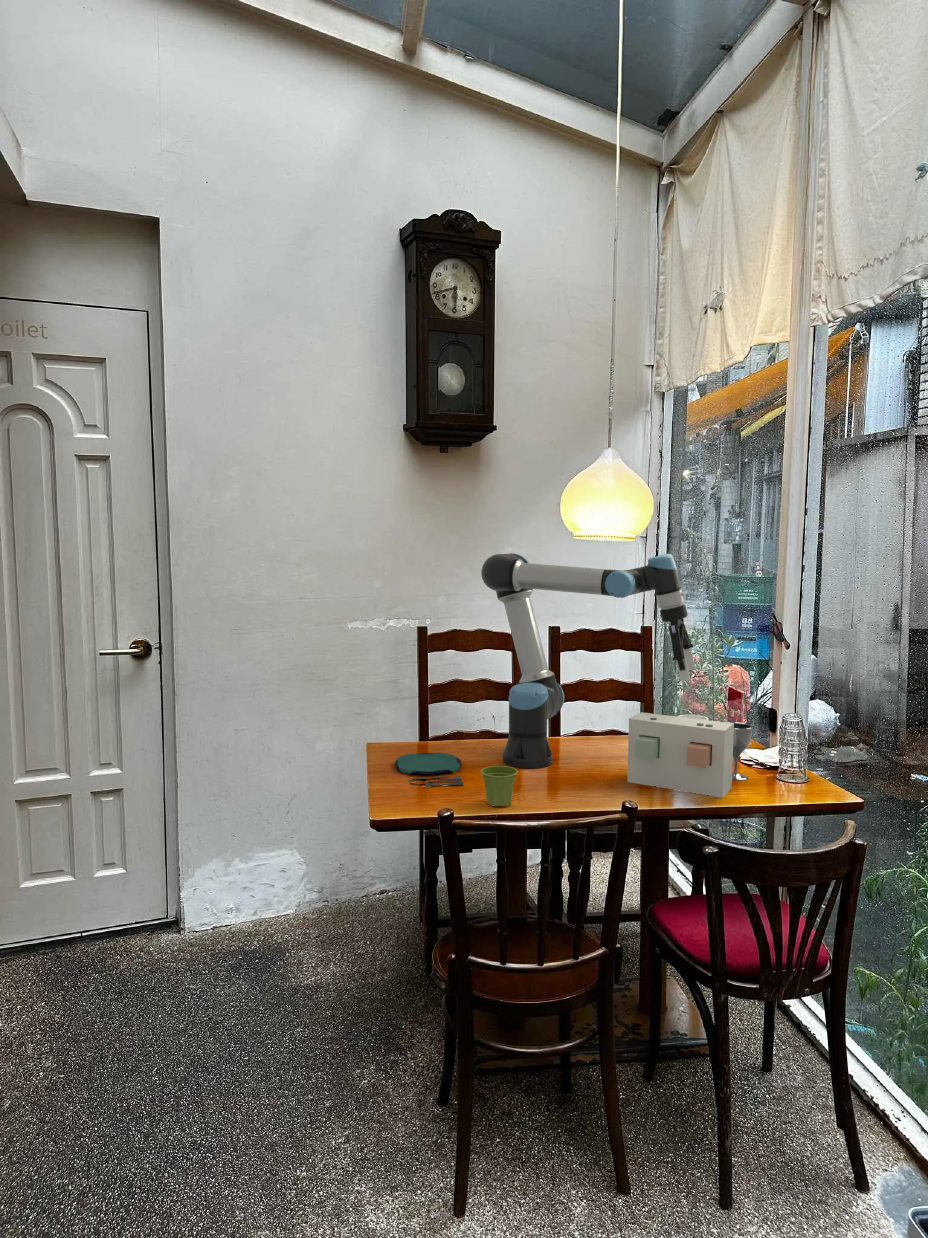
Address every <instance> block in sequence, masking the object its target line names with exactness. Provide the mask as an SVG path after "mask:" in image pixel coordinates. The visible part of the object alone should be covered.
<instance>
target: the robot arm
mask: <svg viewBox="0 0 928 1238" xmlns="http://www.w3.org/2000/svg"><path fill="white" fill-rule="evenodd" d="M480 574H481V575H480V576H481V579H482V581H483V583H484V584H485V586H486V587H487V588H489V589H490V590H492V591H495V593H496V597H497V600H498V601H500V602H501V603H502V604H503V605H504V608H505V612H506V616H507V617H506V618H507V620H508V625H509V628H510V633H511V637H512V640H513V645H514V649H515V652H516V656H517V657H516V658H517V660H518V664H519V668H520V669H519V670H520V672H521V678H520V679H519V681H518V684H514V685H513V686H512V687H511V688H510V689H509V695H508V737H507V740H506V744H505V747H504V749H503V752H502V762H503V763H504V764H505V765H506V766H508V767H512V768H519V769H520V768H521V769H538V768H539V769H540V768H546V767H549V766H550V765H552V764H553V759H554V757H553V752H552V749H551V746H550V743H549V740H548V720H549V719H551V718H553V717H555V716H556V715H557V714H559V712H560V711H561V709H562V708H563V706H564V703H565V693H564V691H563V688H562V687H561V685H560V684H559V683H558V682H557V679H556V676H555V673H554V672H553V671H551V670H550V669H549V667H548V663H547V660H546V659H547V658H546V655H545V651H544V647H543V643H542V640H541V636H540V633H539V627H538V623H537V620H536V616H535V613H534V608H533V604H532V600H531V596H532V594H533V592H534V590H539V591H541V590H542V591H552V592H553V591H554V592H564V593H565V592H567V593H575V594H589V595H596V596H597V595H598V596H599V595H600V596H607V597H613V598H617V599H623V598H626V597H629V596H633V595H636V594H641V593H645V592H650V591H653V590H654V592H655V598H656V602H657V606H658V608H659V609H660V610H659V613H660V618H661V621H662V622H664V623H668V622H669V623H670V626H668V629H669V630H668V631H669V634H670V636H669V637H670V642H671V647H672V648H671V649H672V654H673V657H672V661H673V662H674V661H675V662H676V666H677V671H678V675H679V679H680V682H681V683H682V682H686V681H691V676H690V671H692V670H696V668H697V667H696V663H695V660H694V655H693V651H692V648H693V647H694V644H693V643H692V642H691V639H690V637H689V633H688V630H687V627H686V624H685V620H684V619H685V618H687V617H688V611H687V610H688V609H687V605H686V604H684V602H685V599H684V596H685V592H683V591H682V587H681V586H682V585H681V582H680V581H681V580H680V576H679V572H678V568H677V565H676V563H675V559H674V555H673V554H671V553H664V554H661V555H656V556H653V557H649V558H648V559H647V565H644V566H640V567H635V568H631V569H625V570H621V569H619V570H618V569H604V568H594V567H593V568H592V567H582V566H581V567H579V566H578V567H577V566H569V565H568V566H567V565H566V566H565V565H555V564H541V563H531V562H530V561H529V560H528V559H527V558H526V557H524V556H523V555H520V554H517V553H512V552H510V553H496V554H493V555H491V556H490V557H488V558H487V559H486V560H485V561H484V562H483V564H482V568H481V572H480Z"/></svg>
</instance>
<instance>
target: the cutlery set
mask: <svg viewBox="0 0 928 1238" xmlns="http://www.w3.org/2000/svg"><path fill="white" fill-rule="evenodd" d="M461 764H462V760H461V759H460V758H458V756H456V755H454V754H450V753H445V752H422V753H408V754H404V755H401V756H399V757H397V758H396V760H395V761H394V765H395V767H396V768H397V769H399V771H400V772H401V773H402V772H404V774H408V775H411V774H417V775H433V774H442V773H446V772H452V774H453V773H454V772H456V773H457V772H458V771H459V770H460V766H461ZM454 774H455V773H454ZM453 777H454V776H442V775H439V776H434V777H433V776H431V777H428V776H427V777H416V778H417V779H425V778H436V779H437V778H443V779H437V780H436V779H435V780H433V781H432V780H430V779H428V780H426V781H428V784H425V785H422V786H426V787H429V786H433V787H439V786H443V785H459V786H460V785H463V786H464V782H463V779H462V777H461V776H460V775H457V776H456V775H455V777H460V778H453ZM409 781H410V782H409V783H410V784H412V783H411V782H414V781H418V780H409ZM430 782H434V783H430ZM442 782H448V783H442ZM449 782H450V783H449ZM424 783H425V782H420V784H424ZM415 784H417V782H416V783H414V784H413V785H415ZM429 788H430V787H429Z"/></svg>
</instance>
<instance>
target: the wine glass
mask: <svg viewBox="0 0 928 1238" xmlns="http://www.w3.org/2000/svg"><path fill="white" fill-rule="evenodd" d="M727 723H734V737H733V763H734V764H733V766H734V767H733V771H732V781H740V782H741V781H747V780H749V776H747V775H745V774H742V773H739V772H738V763H739V758H740V756H741V755H742V753H744V751H745V750H746V749H748V747H749V746H750V743H751V741H752V740H751V739H752V735H753V734H752V733H753V725H751V724H748V723H745V722H737V721H733V722H732V721H731V722H729V721H728V722H727Z"/></svg>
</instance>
